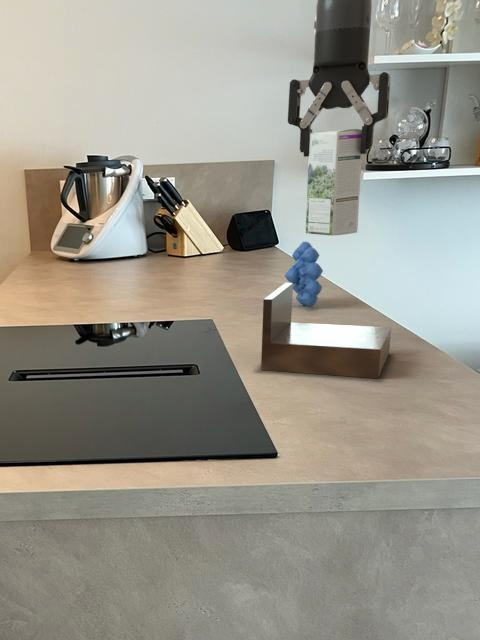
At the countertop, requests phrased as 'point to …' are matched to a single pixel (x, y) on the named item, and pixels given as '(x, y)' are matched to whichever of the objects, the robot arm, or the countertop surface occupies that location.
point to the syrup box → (333, 182)
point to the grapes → (305, 274)
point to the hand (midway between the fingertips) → (334, 155)
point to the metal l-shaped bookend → (319, 343)
